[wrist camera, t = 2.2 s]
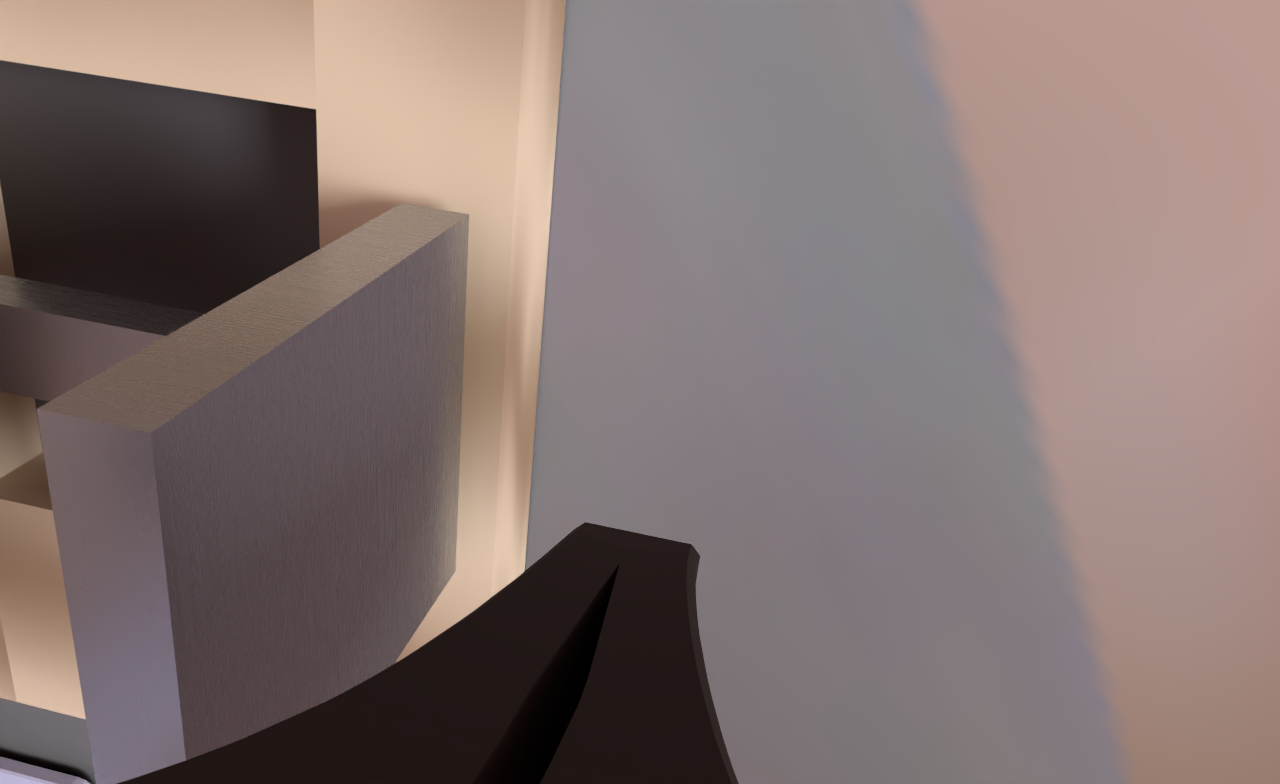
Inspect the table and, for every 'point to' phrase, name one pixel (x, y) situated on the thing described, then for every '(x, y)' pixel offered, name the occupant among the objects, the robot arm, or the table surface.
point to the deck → (273, 218)
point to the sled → (248, 482)
